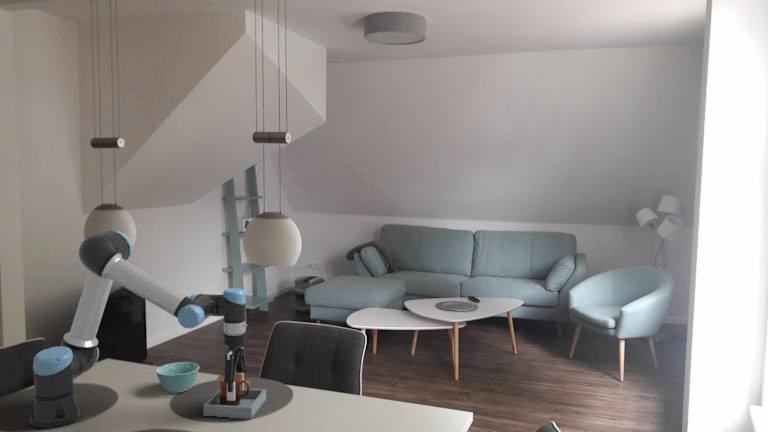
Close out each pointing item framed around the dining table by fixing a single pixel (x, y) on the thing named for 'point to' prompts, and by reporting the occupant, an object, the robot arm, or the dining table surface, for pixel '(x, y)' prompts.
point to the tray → (242, 411)
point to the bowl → (177, 376)
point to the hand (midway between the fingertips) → (235, 395)
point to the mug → (238, 394)
